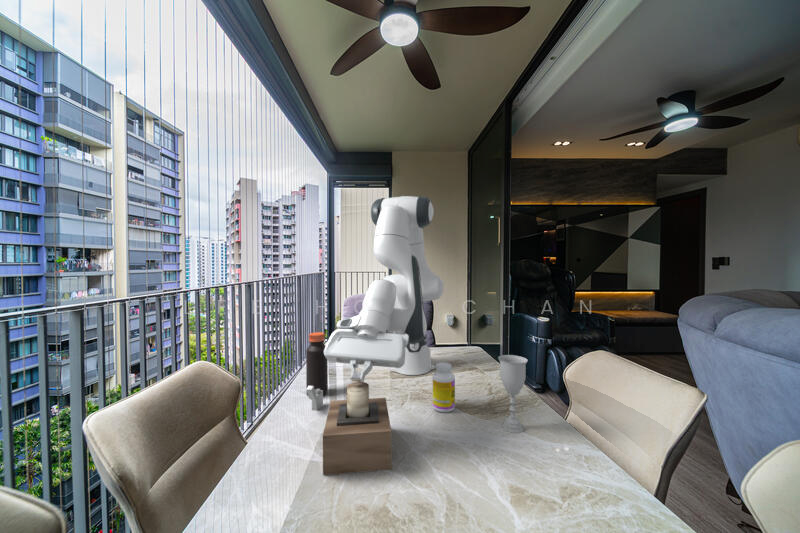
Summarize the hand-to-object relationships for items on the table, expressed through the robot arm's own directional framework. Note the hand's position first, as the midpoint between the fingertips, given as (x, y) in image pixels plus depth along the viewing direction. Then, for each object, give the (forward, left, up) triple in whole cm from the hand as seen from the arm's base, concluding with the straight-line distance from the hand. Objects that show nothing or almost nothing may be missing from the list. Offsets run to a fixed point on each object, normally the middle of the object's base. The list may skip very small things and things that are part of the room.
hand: (356, 380), depth 69 cm
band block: (-1, 0, -16) cm, 16 cm away
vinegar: (-33, -14, -16) cm, 39 cm away
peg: (-1, 0, -10) cm, 10 cm away
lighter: (-22, -13, -16) cm, 30 cm away
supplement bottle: (-18, +25, -16) cm, 35 cm away
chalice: (-5, +40, -16) cm, 44 cm away
